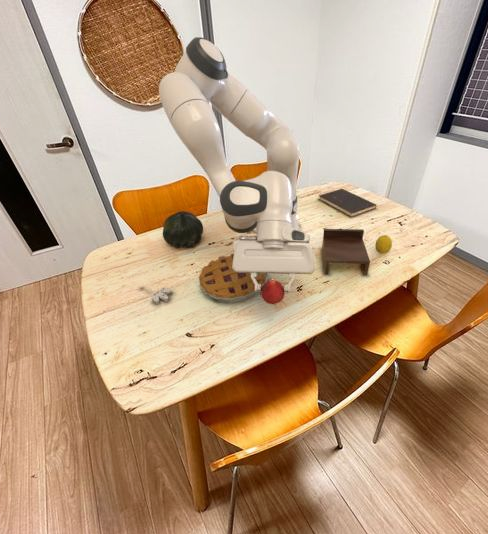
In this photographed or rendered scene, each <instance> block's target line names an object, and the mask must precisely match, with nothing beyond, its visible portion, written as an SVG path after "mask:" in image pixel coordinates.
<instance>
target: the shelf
mask: <svg viewBox="0 0 488 534" xmlns="http://www.w3.org/2000/svg"><path fill="white" fill-rule="evenodd" d="M364 233H365V230H364V229H358V228H357V229H356V228H355V229H354V228H353V229H352V228H323V233H322V234H323V235H322V242H321V244H322V245H321V255H322V263H323V271H324V273H323V274H324V275H325V276H327V275H329V270H330V264H343V265H344V264H345V265H348V264H349V265H360V269H361V272H362V275H363V277H366V276H368V274H369V273H368V272H369V268H370V265H371V264H370V263H371V260H370V257H369V253H368V250H367V247H366V244H365V241H364Z"/></svg>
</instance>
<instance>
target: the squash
mask: <svg viewBox="0 0 488 534" xmlns="http://www.w3.org/2000/svg"><path fill="white" fill-rule="evenodd" d="M203 233H204V225H203V223H202V221H201V220H200V219H199V218H198V217H197V216H196V215H195V214H194V213H192V212H189V211H185V210H182V211H181V210H180V211H178V212H175V213H173V214H171V215H169V216H167V218H165V220H164V222H163V226H162V239H163V240H164V242H166V244H168V245H169V246H171V247H174V248H176V249H179V248H182V249H185V248H186V247H187V248H188V249H189V248H190V249H192V248H194V247H195V246H196V245H199V243H200V242H201V241H202V237H203Z"/></svg>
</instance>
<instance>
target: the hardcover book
mask: <svg viewBox="0 0 488 534" xmlns="http://www.w3.org/2000/svg"><path fill="white" fill-rule="evenodd" d="M318 197H319V198H318V200H319V201H320V202H321V203H324V204H326V205H327V206H329V207H331V208H333V209H334V210H336V211H338V212H340V213H342V214H344V215H346V216H348V217H349V218H353V217H357V216H360V215H362V214H364V213H368V212H370V211H374V210H375V209H376V208H377V204H376V203H374V202H372V201H370V200H367V199H366V198H364V197H362V196H359V195H357V194H355V193H353V192H350V191H348V190H347V189H344V188H339V189H336V190H333V191H329V192H326V193H321V194H320V195H318Z"/></svg>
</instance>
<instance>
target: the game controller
mask: <svg viewBox="0 0 488 534" xmlns="http://www.w3.org/2000/svg"><path fill="white" fill-rule="evenodd" d="M140 289H141V290H143V289H144V290H145V291H147V292H148V290H147V289H146V288H144V287H141V288H140ZM151 292H152V295H151V301H152V302H153V303H155V304H156V305H158V304H160V300H161V301H164V302H169V301H170V299H169V296H168V295H170V294H171V289H170V288H168V287H161V288H159V289H158V290H156V291H153V290H151Z"/></svg>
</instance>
